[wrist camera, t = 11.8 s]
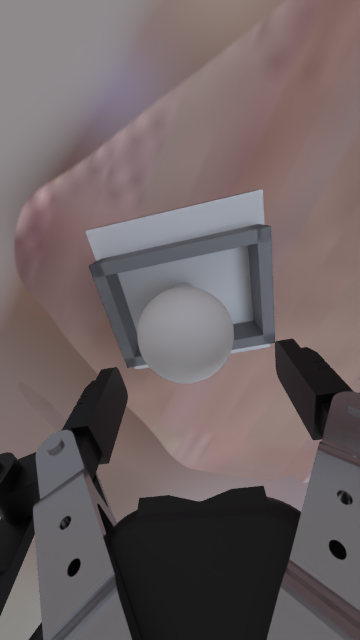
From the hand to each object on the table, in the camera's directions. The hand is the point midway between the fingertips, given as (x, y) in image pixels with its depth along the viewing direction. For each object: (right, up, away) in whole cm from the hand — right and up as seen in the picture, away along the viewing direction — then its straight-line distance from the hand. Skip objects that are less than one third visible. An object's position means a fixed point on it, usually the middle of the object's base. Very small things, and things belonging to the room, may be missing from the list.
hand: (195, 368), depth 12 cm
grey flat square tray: (0, +5, +11) cm, 12 cm away
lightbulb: (0, +5, +10) cm, 12 cm away
